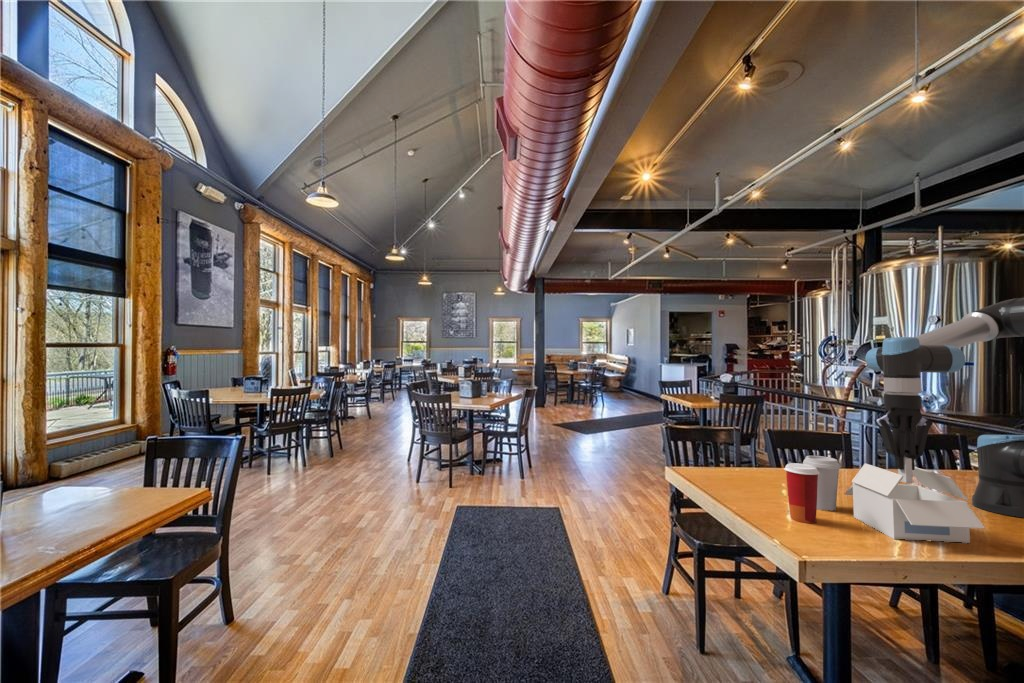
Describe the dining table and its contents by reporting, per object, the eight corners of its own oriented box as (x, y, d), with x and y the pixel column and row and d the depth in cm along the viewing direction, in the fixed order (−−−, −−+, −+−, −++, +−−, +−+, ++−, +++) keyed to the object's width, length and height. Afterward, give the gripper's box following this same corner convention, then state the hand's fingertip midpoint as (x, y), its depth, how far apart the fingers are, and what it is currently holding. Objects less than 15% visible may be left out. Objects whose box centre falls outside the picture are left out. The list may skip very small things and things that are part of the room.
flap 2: (921, 485, 119) (922, 484, 119) (967, 500, 105) (968, 499, 105) (906, 465, 120) (907, 464, 119) (949, 478, 106) (950, 477, 106)
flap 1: (866, 464, 121) (864, 463, 121) (904, 476, 107) (902, 475, 107) (852, 482, 121) (851, 481, 121) (888, 496, 108) (887, 495, 108)
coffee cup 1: (817, 517, 121) (815, 464, 122) (824, 526, 114) (822, 470, 115) (782, 512, 125) (781, 461, 126) (787, 521, 118) (786, 467, 118)
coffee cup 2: (832, 503, 133) (830, 456, 134) (849, 514, 124) (847, 462, 125) (798, 501, 136) (797, 454, 136) (812, 511, 126) (811, 460, 127)
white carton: (905, 515, 124) (904, 480, 124) (989, 552, 99) (987, 508, 100) (842, 512, 126) (841, 477, 126) (909, 547, 101) (908, 504, 102)
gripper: (917, 393, 117) (920, 479, 116) (866, 392, 119) (868, 477, 118) (941, 395, 110) (944, 487, 109) (886, 394, 112) (889, 484, 110)
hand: (905, 481), depth 113 cm, fingers closed
